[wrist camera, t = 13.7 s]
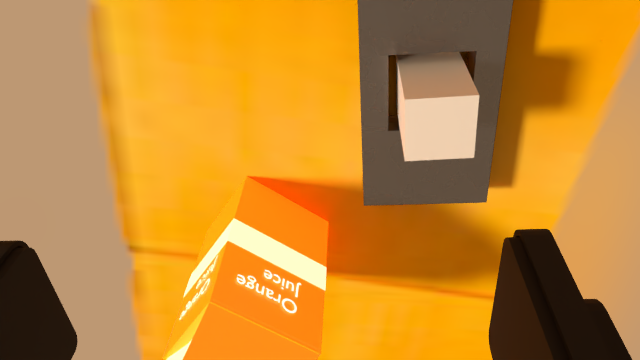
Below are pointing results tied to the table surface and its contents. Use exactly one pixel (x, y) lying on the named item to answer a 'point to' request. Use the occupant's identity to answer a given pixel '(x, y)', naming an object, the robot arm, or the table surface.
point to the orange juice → (255, 283)
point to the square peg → (436, 106)
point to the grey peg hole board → (382, 130)
